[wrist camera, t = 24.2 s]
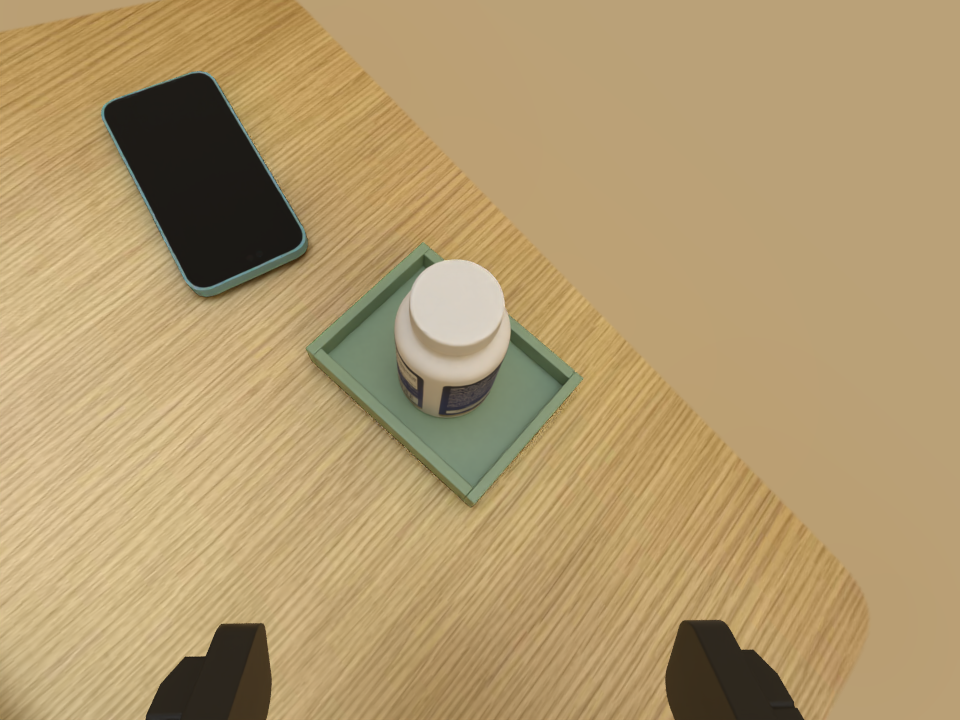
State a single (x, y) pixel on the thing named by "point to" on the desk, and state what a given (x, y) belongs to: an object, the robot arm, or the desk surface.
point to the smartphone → (204, 182)
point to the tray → (434, 440)
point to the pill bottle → (451, 338)
